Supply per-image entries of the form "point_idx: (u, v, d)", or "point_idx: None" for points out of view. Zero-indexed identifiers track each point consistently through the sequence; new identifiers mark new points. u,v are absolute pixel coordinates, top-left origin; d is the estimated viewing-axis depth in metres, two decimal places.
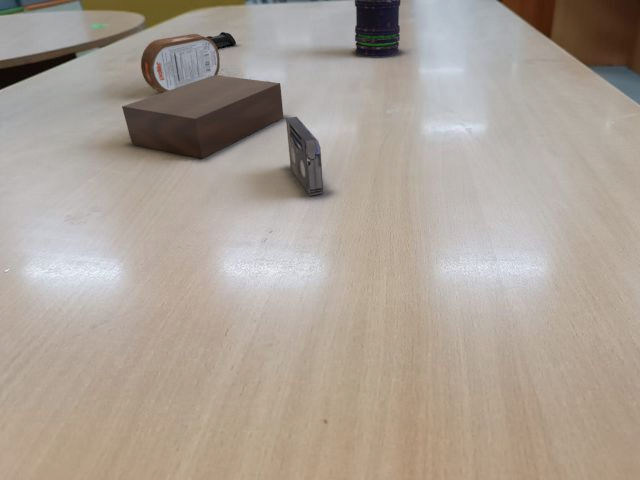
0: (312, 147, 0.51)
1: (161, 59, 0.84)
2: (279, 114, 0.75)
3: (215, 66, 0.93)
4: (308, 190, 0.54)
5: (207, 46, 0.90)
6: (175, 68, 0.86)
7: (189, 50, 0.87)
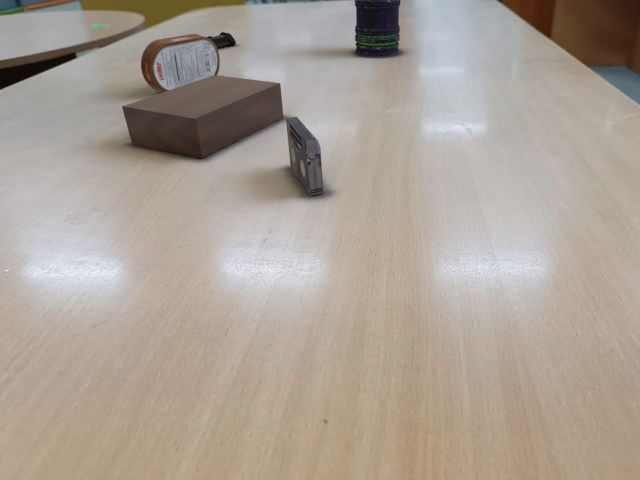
0: (312, 147, 0.51)
1: (160, 59, 0.84)
2: (279, 114, 0.75)
3: (215, 66, 0.93)
4: (308, 190, 0.54)
5: (207, 46, 0.90)
6: (175, 67, 0.86)
7: (189, 50, 0.87)
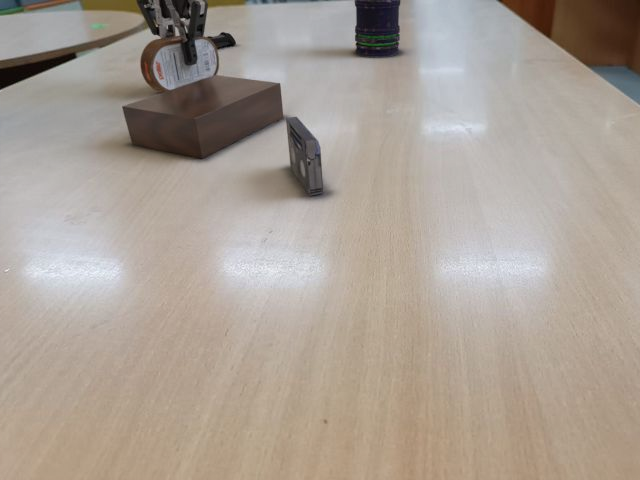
0: (312, 147, 0.51)
1: (160, 58, 0.84)
2: (279, 114, 0.75)
3: (214, 65, 0.93)
4: (308, 190, 0.54)
5: (206, 46, 0.90)
6: (175, 67, 0.86)
7: None
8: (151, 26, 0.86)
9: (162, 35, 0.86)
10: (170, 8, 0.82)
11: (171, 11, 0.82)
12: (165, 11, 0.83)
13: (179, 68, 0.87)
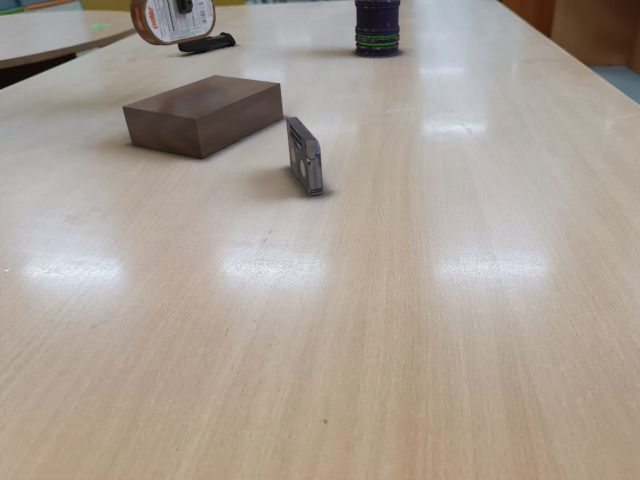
0: (312, 147, 0.51)
1: (152, 3, 0.73)
2: (279, 114, 0.75)
3: (211, 17, 0.83)
4: (308, 190, 0.54)
5: None
6: (169, 15, 0.76)
7: None
8: None
9: None
10: None
11: None
12: None
13: (174, 17, 0.77)
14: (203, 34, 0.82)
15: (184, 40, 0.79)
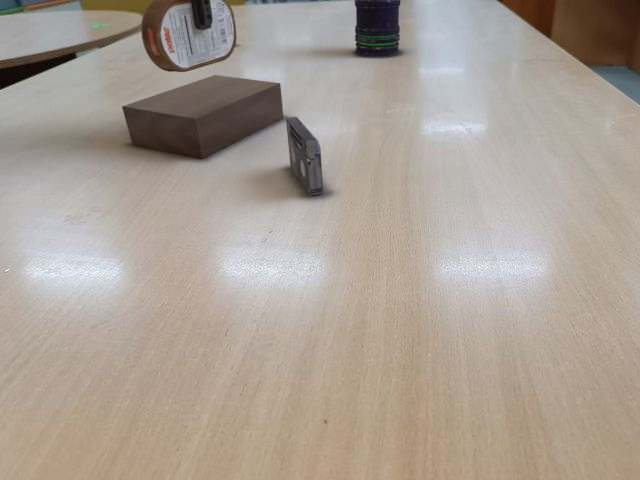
0: (312, 147, 0.51)
1: (168, 23, 0.60)
2: (279, 114, 0.75)
3: (232, 36, 0.70)
4: (308, 190, 0.54)
5: (221, 8, 0.67)
6: (187, 36, 0.63)
7: None
8: None
9: None
10: None
11: None
12: None
13: (192, 38, 0.64)
14: (223, 56, 0.70)
15: (203, 64, 0.66)
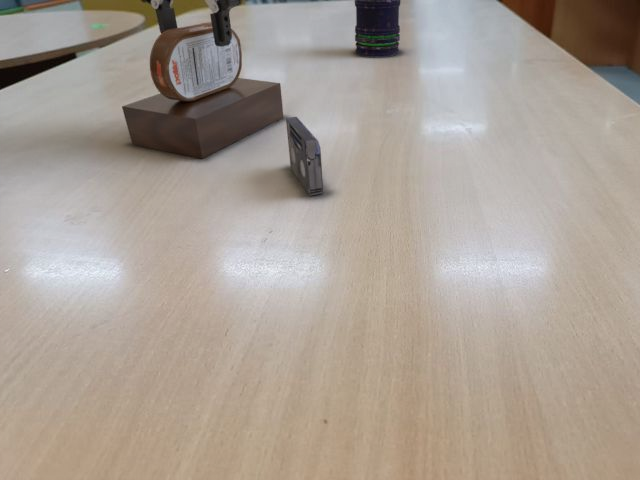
0: (312, 147, 0.51)
1: (177, 56, 0.61)
2: (279, 114, 0.75)
3: (237, 64, 0.71)
4: (308, 190, 0.54)
5: None
6: (194, 67, 0.64)
7: (209, 43, 0.65)
8: None
9: (154, 2, 0.64)
10: None
11: None
12: None
13: (199, 69, 0.65)
14: (228, 84, 0.71)
15: (208, 93, 0.68)
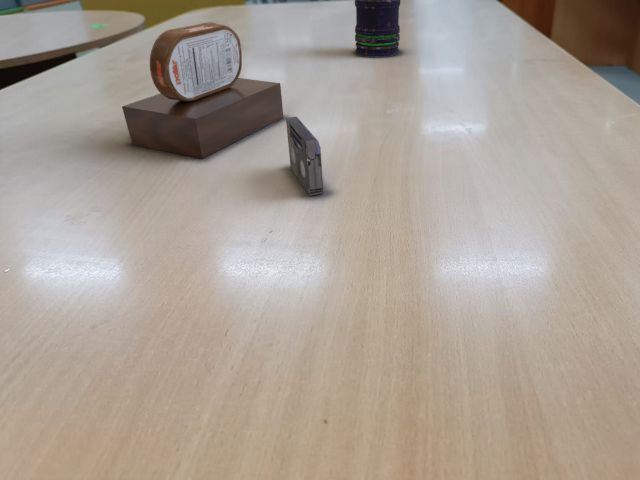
0: (312, 147, 0.51)
1: (177, 56, 0.61)
2: (279, 114, 0.75)
3: (237, 64, 0.71)
4: (308, 190, 0.54)
5: (228, 39, 0.68)
6: (194, 67, 0.64)
7: (209, 43, 0.65)
8: None
9: None
10: None
11: None
12: None
13: (199, 69, 0.65)
14: (228, 84, 0.71)
15: (208, 93, 0.68)
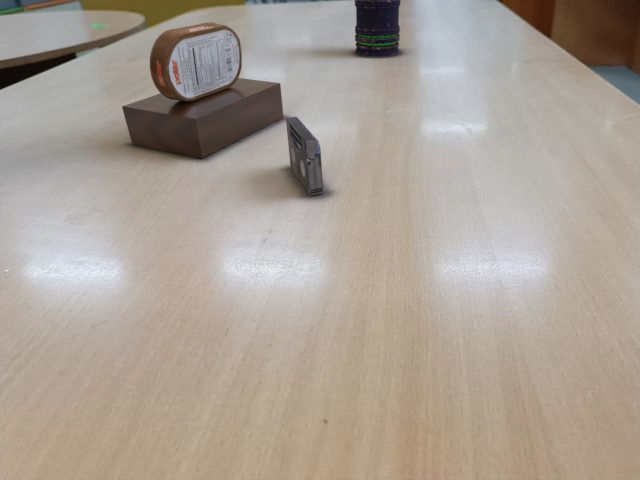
0: (312, 147, 0.51)
1: (177, 56, 0.61)
2: (279, 114, 0.75)
3: (237, 64, 0.71)
4: (308, 190, 0.54)
5: (228, 39, 0.68)
6: (194, 67, 0.64)
7: (209, 43, 0.65)
8: None
9: None
10: None
11: None
12: None
13: (199, 69, 0.65)
14: (228, 84, 0.71)
15: (208, 93, 0.68)
